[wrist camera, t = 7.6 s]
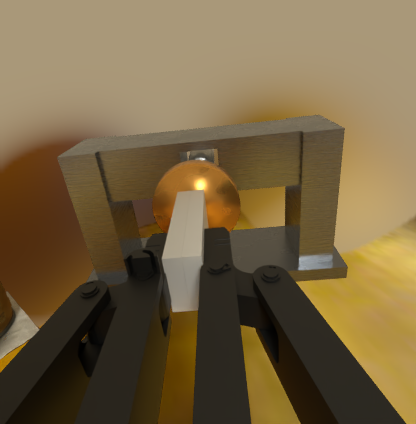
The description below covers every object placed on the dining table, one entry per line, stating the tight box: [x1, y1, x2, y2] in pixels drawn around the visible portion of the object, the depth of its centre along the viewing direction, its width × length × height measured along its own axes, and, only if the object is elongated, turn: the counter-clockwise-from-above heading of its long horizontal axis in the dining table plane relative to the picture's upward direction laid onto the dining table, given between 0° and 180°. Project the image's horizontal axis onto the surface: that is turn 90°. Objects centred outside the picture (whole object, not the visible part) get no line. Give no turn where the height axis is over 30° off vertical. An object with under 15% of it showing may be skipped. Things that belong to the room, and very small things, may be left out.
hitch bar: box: [58, 115, 348, 287], centre depth 29 cm, size 24×8×13 cm, turn 89°
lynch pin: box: [152, 149, 240, 233], centre depth 24 cm, size 5×14×5 cm, turn 179°
